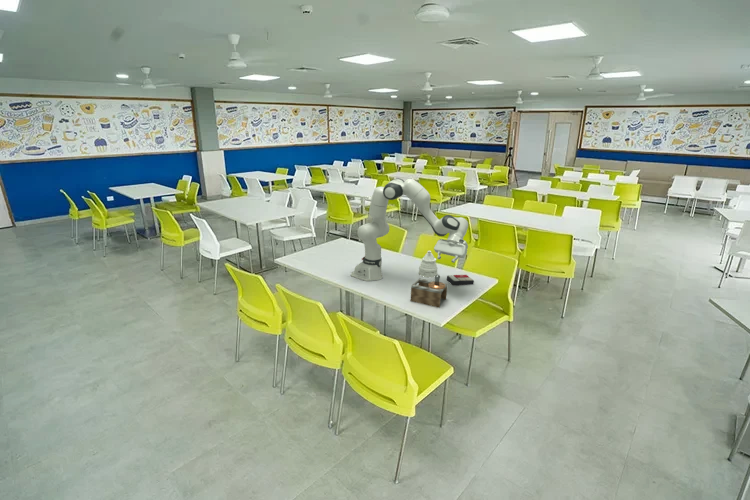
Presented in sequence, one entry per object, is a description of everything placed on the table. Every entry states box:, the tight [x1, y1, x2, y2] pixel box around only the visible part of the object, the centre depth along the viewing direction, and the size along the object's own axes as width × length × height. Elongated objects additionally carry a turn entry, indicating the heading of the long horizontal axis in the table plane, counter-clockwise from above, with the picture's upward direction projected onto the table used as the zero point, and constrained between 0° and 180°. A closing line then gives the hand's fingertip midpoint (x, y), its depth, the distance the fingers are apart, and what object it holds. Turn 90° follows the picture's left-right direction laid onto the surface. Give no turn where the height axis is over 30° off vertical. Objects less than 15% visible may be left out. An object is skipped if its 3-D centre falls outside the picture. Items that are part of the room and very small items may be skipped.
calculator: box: [446, 274, 475, 287], centre depth 261 cm, size 11×4×15 cm
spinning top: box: [428, 274, 445, 295], centre depth 227 cm, size 10×10×12 cm
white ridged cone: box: [418, 250, 438, 278], centre depth 272 cm, size 13×13×18 cm
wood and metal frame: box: [410, 277, 448, 308], centre depth 231 cm, size 18×14×10 cm
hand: (445, 260), depth 230 cm, fingers open, 8 cm apart
